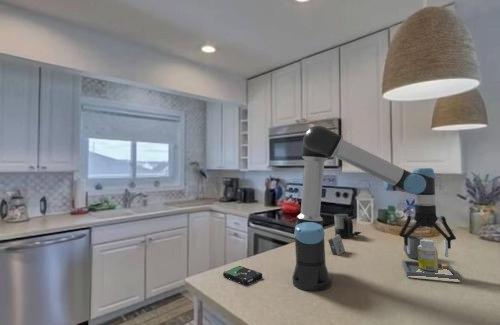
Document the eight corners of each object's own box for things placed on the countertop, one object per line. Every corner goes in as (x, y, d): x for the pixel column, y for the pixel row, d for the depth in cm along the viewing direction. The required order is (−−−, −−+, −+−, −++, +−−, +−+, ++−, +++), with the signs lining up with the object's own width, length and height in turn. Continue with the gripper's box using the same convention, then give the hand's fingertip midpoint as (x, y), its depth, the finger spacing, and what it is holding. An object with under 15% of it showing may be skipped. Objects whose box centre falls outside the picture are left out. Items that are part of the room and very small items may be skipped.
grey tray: (407, 277, 114) (406, 271, 115) (402, 265, 128) (402, 260, 128) (460, 283, 108) (459, 276, 108) (449, 269, 122) (449, 264, 122)
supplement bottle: (428, 267, 122) (426, 238, 123) (442, 273, 116) (441, 241, 116) (415, 269, 121) (413, 239, 121) (429, 275, 114) (427, 243, 114)
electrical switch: (338, 256, 146) (336, 238, 147) (329, 255, 149) (327, 237, 150) (345, 251, 153) (342, 234, 154) (336, 251, 157) (334, 234, 157)
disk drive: (263, 279, 120) (239, 271, 131) (262, 273, 120) (239, 265, 131) (245, 287, 113) (222, 277, 123) (245, 280, 113) (222, 271, 124)
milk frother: (331, 237, 185) (330, 214, 186) (344, 233, 196) (343, 211, 196) (351, 240, 175) (350, 217, 175) (364, 236, 185) (363, 213, 185)
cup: (404, 259, 137) (403, 238, 137) (403, 253, 145) (402, 234, 146) (427, 261, 133) (426, 240, 133) (424, 255, 141) (423, 235, 142)
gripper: (457, 203, 117) (460, 254, 117) (391, 202, 127) (393, 249, 126) (463, 206, 111) (465, 260, 110) (393, 204, 120) (394, 254, 120)
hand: (427, 254), depth 118 cm, fingers open, 13 cm apart
